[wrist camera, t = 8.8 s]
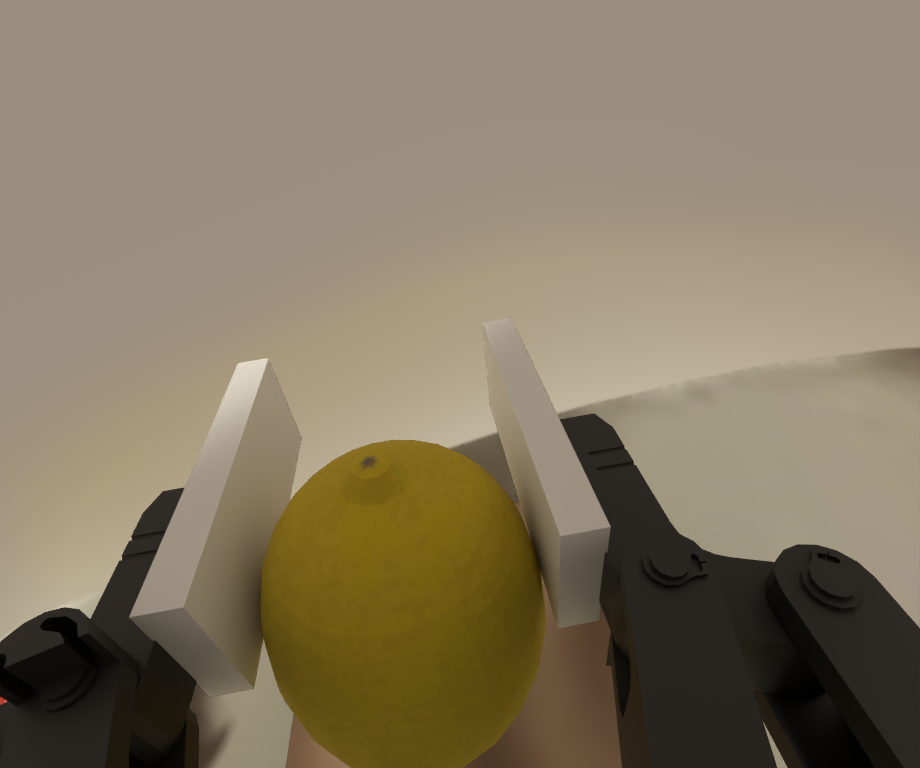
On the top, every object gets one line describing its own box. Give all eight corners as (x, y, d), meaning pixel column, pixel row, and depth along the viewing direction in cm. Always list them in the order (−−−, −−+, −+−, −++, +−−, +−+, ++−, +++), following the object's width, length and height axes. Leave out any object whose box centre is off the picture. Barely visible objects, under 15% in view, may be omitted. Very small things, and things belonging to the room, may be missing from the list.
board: (609, 503, 30) (611, 487, 30) (735, 777, 19) (745, 765, 18) (327, 548, 30) (320, 533, 29) (286, 856, 19) (273, 847, 18)
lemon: (391, 572, 15) (325, 356, 11) (566, 624, 13) (573, 386, 9) (279, 775, 11) (98, 559, 7) (510, 893, 9) (473, 699, 5)
